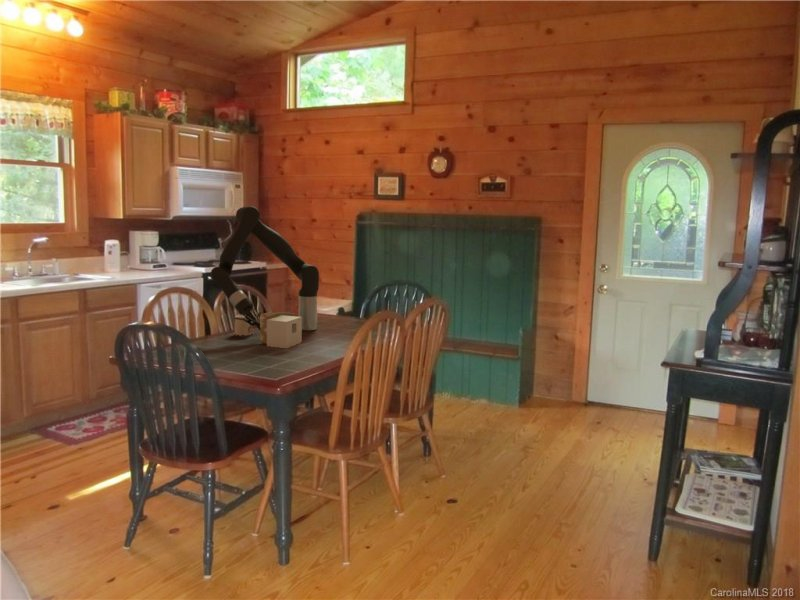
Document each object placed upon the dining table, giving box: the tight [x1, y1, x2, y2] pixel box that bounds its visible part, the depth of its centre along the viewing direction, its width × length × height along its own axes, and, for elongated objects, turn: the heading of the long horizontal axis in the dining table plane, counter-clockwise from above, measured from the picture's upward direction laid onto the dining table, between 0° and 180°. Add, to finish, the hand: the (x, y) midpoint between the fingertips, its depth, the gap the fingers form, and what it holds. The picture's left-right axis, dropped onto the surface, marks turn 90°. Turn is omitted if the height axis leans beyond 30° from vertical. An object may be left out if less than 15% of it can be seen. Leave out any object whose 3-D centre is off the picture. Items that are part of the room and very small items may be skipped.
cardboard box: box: [266, 315, 303, 349], centre depth 297 cm, size 10×14×12 cm
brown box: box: [259, 311, 296, 345], centre depth 298 cm, size 15×8×13 cm, turn 70°
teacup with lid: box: [233, 313, 254, 336], centre depth 319 cm, size 12×9×12 cm
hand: (263, 330), depth 301 cm, fingers closed
